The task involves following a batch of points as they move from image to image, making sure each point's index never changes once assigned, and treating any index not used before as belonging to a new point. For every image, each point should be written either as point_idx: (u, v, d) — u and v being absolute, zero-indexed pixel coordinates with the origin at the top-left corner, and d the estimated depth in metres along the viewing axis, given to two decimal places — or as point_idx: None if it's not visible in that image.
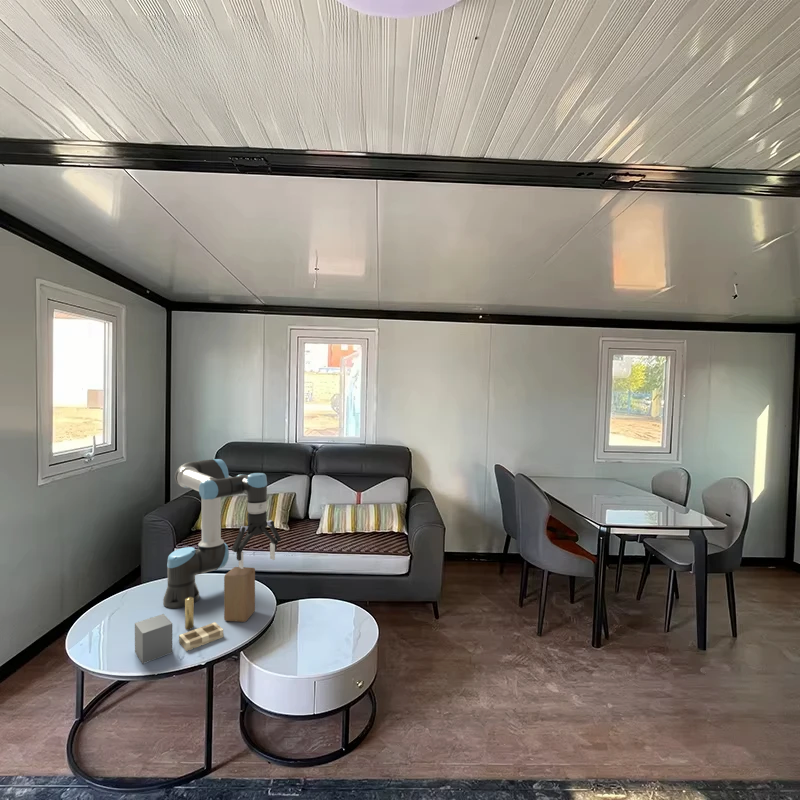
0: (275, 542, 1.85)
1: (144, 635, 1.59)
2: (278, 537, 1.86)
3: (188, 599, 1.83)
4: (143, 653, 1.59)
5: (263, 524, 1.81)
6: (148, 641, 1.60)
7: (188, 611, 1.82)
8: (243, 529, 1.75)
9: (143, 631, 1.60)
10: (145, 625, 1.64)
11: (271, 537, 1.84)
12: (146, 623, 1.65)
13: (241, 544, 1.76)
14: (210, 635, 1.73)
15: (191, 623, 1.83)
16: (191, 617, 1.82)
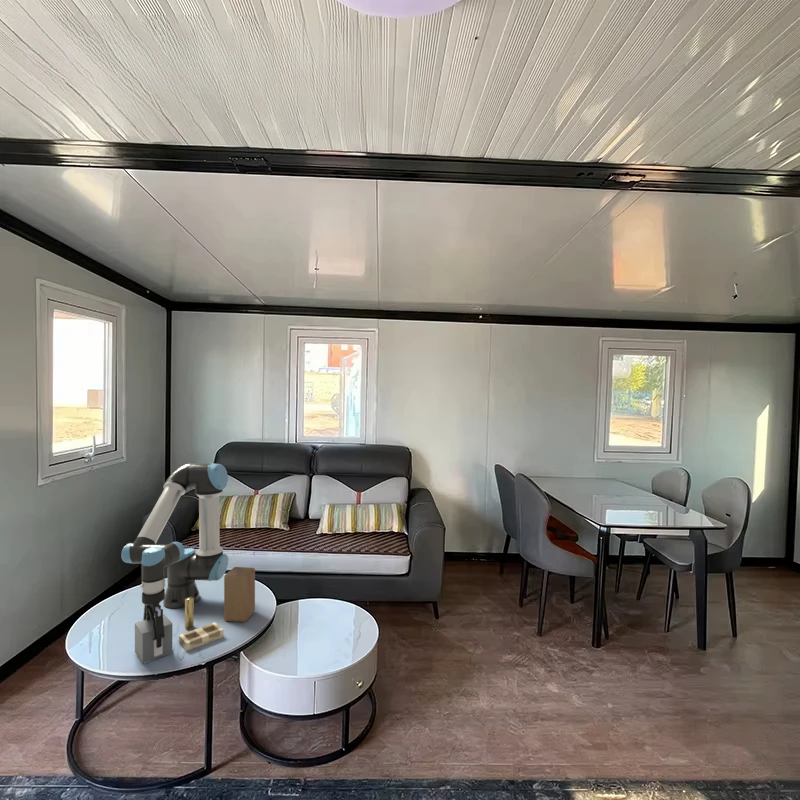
0: None
1: (144, 635, 1.59)
2: (156, 634, 1.59)
3: (188, 599, 1.83)
4: (143, 653, 1.59)
5: (152, 607, 1.63)
6: (148, 641, 1.60)
7: (188, 611, 1.82)
8: None
9: (143, 631, 1.60)
10: (145, 625, 1.64)
11: (154, 628, 1.61)
12: (146, 623, 1.65)
13: None
14: (210, 635, 1.73)
15: (191, 623, 1.83)
16: (191, 617, 1.82)
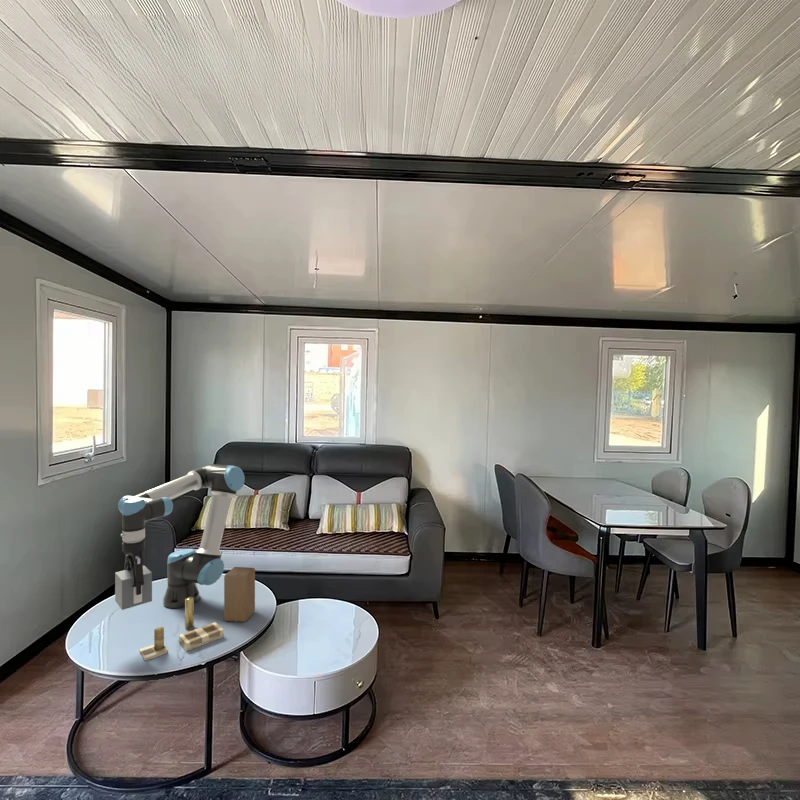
0: (134, 585, 1.64)
1: (123, 582, 1.63)
2: (135, 581, 1.63)
3: (188, 599, 1.83)
4: (122, 600, 1.63)
5: (132, 556, 1.67)
6: (127, 588, 1.64)
7: (188, 611, 1.82)
8: (125, 552, 1.73)
9: (123, 578, 1.64)
10: (125, 574, 1.68)
11: (133, 576, 1.65)
12: (126, 572, 1.69)
13: None
14: (210, 635, 1.73)
15: (191, 623, 1.83)
16: (191, 617, 1.82)
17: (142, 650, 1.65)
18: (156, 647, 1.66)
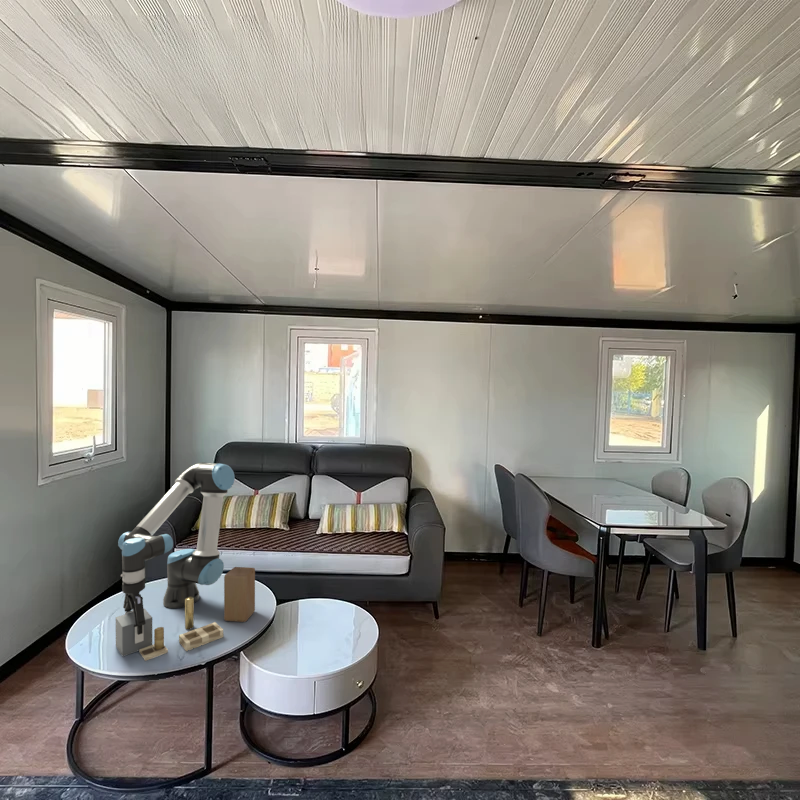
0: None
1: (124, 629, 1.63)
2: (137, 621, 1.63)
3: (188, 599, 1.83)
4: (123, 646, 1.63)
5: (132, 596, 1.67)
6: (127, 634, 1.64)
7: (188, 611, 1.82)
8: None
9: (123, 625, 1.64)
10: (125, 619, 1.68)
11: (134, 616, 1.65)
12: (127, 617, 1.69)
13: None
14: (210, 635, 1.73)
15: (191, 623, 1.83)
16: (191, 617, 1.82)
17: (142, 650, 1.65)
18: (156, 647, 1.66)
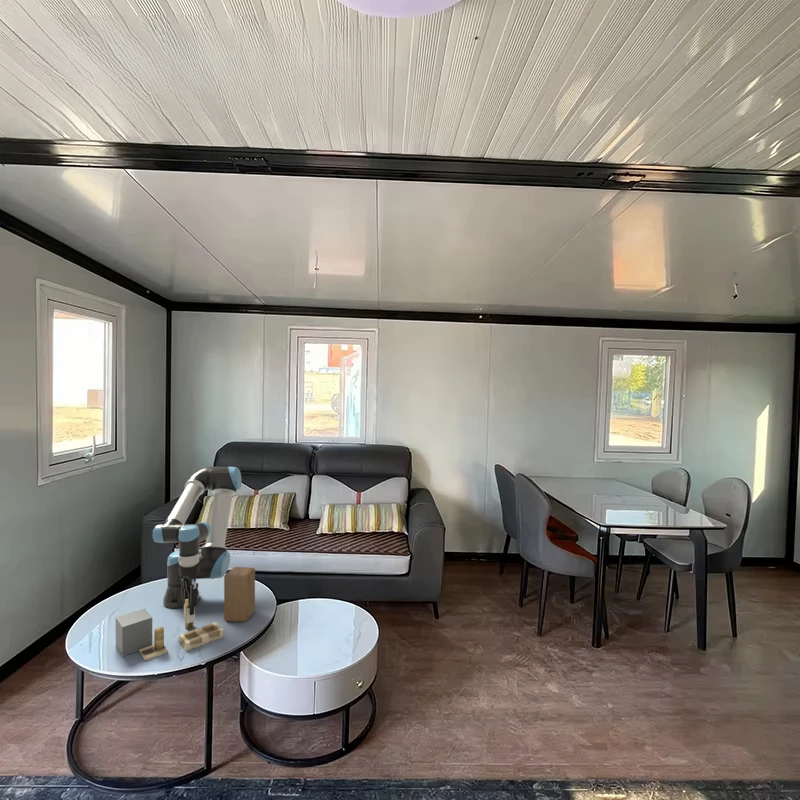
0: (188, 606, 1.80)
1: (124, 629, 1.63)
2: (190, 603, 1.79)
3: None
4: (123, 646, 1.63)
5: (188, 578, 1.81)
6: (127, 634, 1.64)
7: None
8: (181, 578, 1.86)
9: (123, 625, 1.64)
10: (125, 619, 1.68)
11: (188, 598, 1.81)
12: (127, 617, 1.69)
13: None
14: (210, 635, 1.73)
15: (191, 623, 1.83)
16: None
17: (142, 650, 1.65)
18: (156, 647, 1.66)
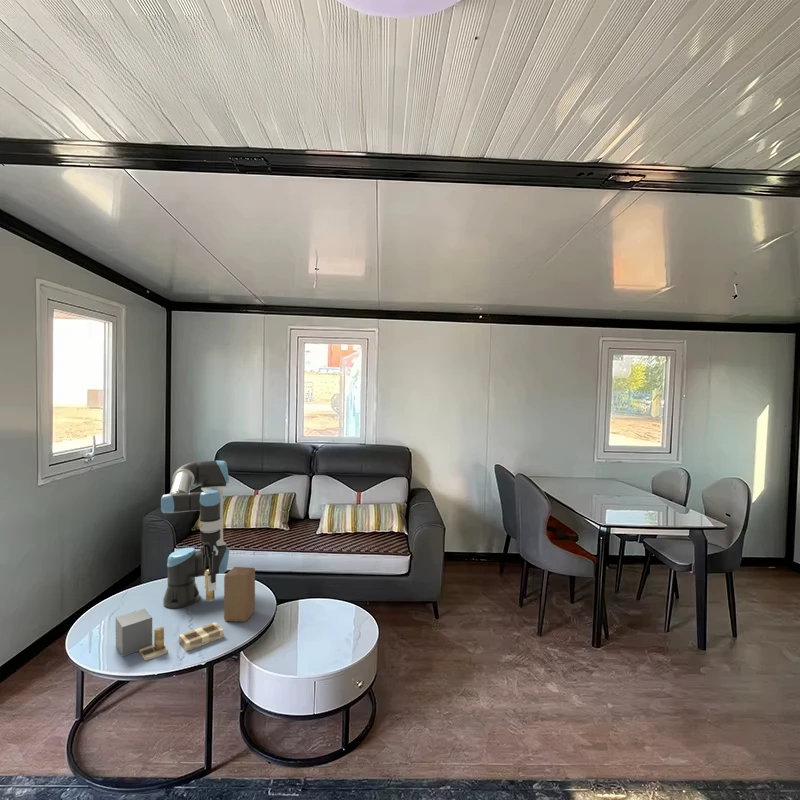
0: None
1: (124, 629, 1.63)
2: (212, 570, 1.72)
3: None
4: (123, 646, 1.63)
5: (210, 545, 1.74)
6: (127, 634, 1.64)
7: None
8: (201, 545, 1.79)
9: (123, 625, 1.64)
10: (125, 619, 1.68)
11: (209, 565, 1.74)
12: (127, 617, 1.69)
13: None
14: (210, 635, 1.73)
15: (212, 595, 1.75)
16: None
17: (142, 650, 1.65)
18: (156, 647, 1.66)
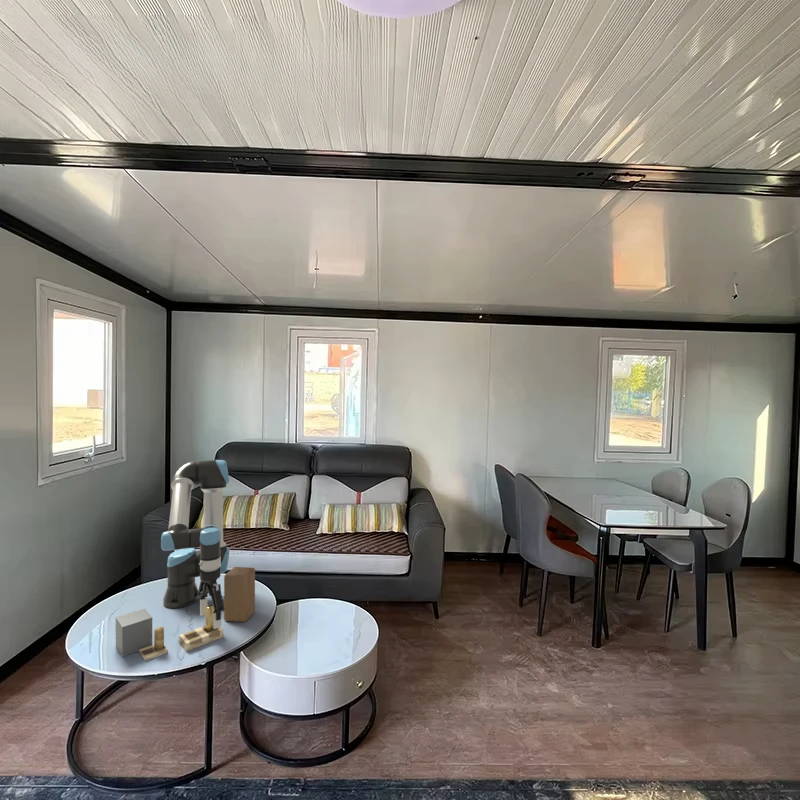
0: (214, 611, 1.70)
1: (124, 629, 1.63)
2: (216, 607, 1.69)
3: (209, 607, 1.76)
4: (123, 646, 1.63)
5: (209, 584, 1.74)
6: (127, 634, 1.64)
7: (209, 620, 1.75)
8: None
9: (123, 625, 1.64)
10: (125, 619, 1.68)
11: (213, 603, 1.72)
12: (127, 617, 1.69)
13: None
14: (210, 635, 1.73)
15: None
16: (212, 626, 1.76)
17: (142, 650, 1.65)
18: (156, 647, 1.66)
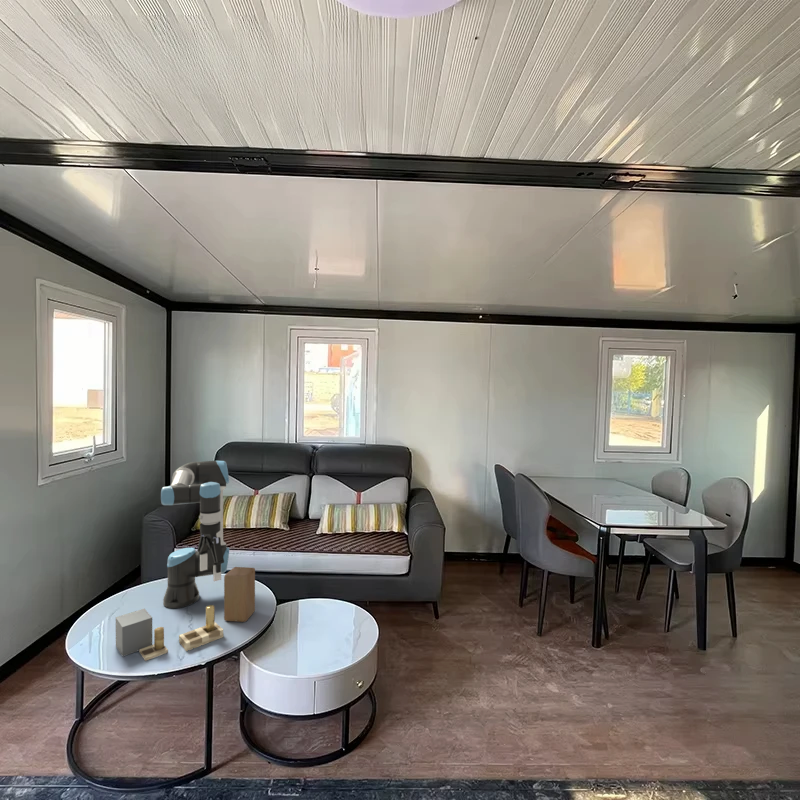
0: None
1: (124, 629, 1.63)
2: (216, 559, 1.69)
3: (209, 607, 1.76)
4: (123, 646, 1.63)
5: (209, 537, 1.74)
6: (127, 634, 1.64)
7: (209, 620, 1.75)
8: None
9: (123, 625, 1.64)
10: (125, 619, 1.68)
11: (213, 555, 1.71)
12: (127, 617, 1.69)
13: None
14: (210, 635, 1.73)
15: None
16: (212, 626, 1.76)
17: (142, 650, 1.65)
18: (156, 647, 1.66)
